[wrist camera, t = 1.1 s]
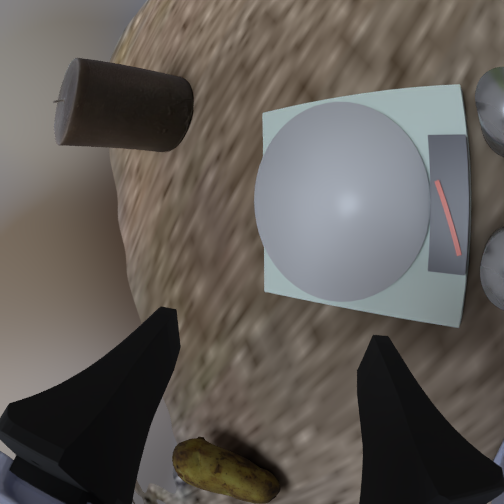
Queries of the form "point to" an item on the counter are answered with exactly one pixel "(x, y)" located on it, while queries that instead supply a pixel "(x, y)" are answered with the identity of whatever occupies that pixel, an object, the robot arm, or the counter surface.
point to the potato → (223, 472)
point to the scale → (369, 202)
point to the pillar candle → (121, 107)
